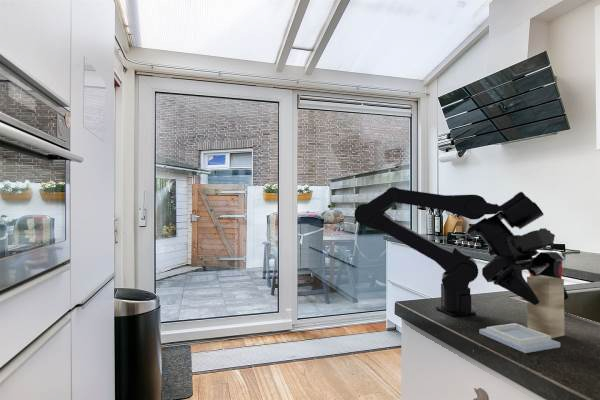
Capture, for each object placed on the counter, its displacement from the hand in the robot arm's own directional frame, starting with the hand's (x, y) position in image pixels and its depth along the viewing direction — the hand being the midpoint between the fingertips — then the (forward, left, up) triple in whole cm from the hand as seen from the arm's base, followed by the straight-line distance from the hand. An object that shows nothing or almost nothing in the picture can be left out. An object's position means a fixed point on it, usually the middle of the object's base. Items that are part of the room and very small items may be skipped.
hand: (552, 301), depth 69 cm
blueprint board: (0, -9, -7) cm, 11 cm away
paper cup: (-14, +17, -7) cm, 23 cm away
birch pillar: (-1, 0, -7) cm, 7 cm away
